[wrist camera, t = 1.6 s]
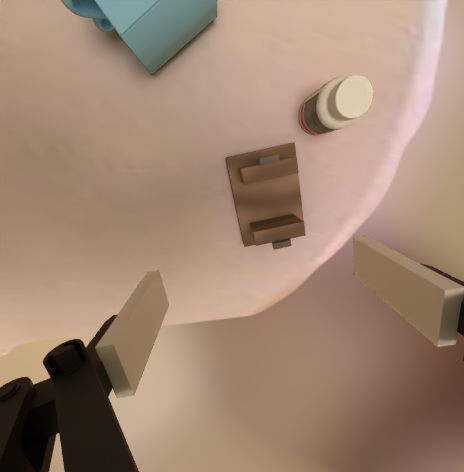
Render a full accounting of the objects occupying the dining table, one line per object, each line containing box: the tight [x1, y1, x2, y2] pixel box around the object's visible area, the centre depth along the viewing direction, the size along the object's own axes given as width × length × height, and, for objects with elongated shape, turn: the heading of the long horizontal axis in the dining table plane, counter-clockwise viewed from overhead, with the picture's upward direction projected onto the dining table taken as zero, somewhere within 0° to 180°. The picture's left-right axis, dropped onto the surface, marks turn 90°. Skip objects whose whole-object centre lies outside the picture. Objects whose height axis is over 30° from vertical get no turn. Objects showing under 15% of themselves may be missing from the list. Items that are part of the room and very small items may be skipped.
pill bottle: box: [299, 75, 373, 135], centre depth 28 cm, size 5×5×10 cm
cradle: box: [226, 143, 305, 249], centre depth 33 cm, size 14×10×7 cm
